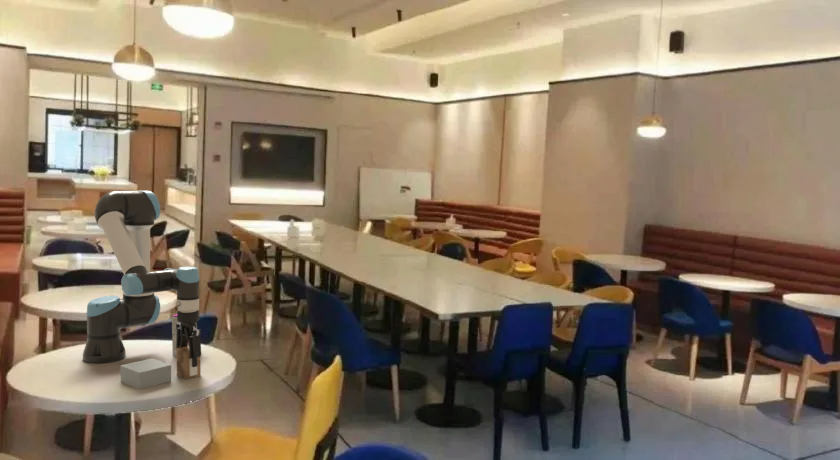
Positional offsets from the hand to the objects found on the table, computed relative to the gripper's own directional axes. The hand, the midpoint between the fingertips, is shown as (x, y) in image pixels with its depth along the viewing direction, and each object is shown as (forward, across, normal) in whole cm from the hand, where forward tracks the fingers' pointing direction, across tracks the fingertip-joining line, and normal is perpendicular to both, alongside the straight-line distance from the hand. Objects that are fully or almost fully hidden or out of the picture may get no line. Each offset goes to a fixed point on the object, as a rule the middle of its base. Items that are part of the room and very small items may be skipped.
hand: (188, 372), depth 250 cm
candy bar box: (+1, -27, +13) cm, 30 cm away
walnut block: (+1, 0, 0) cm, 1 cm away
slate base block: (+1, -4, -14) cm, 15 cm away
